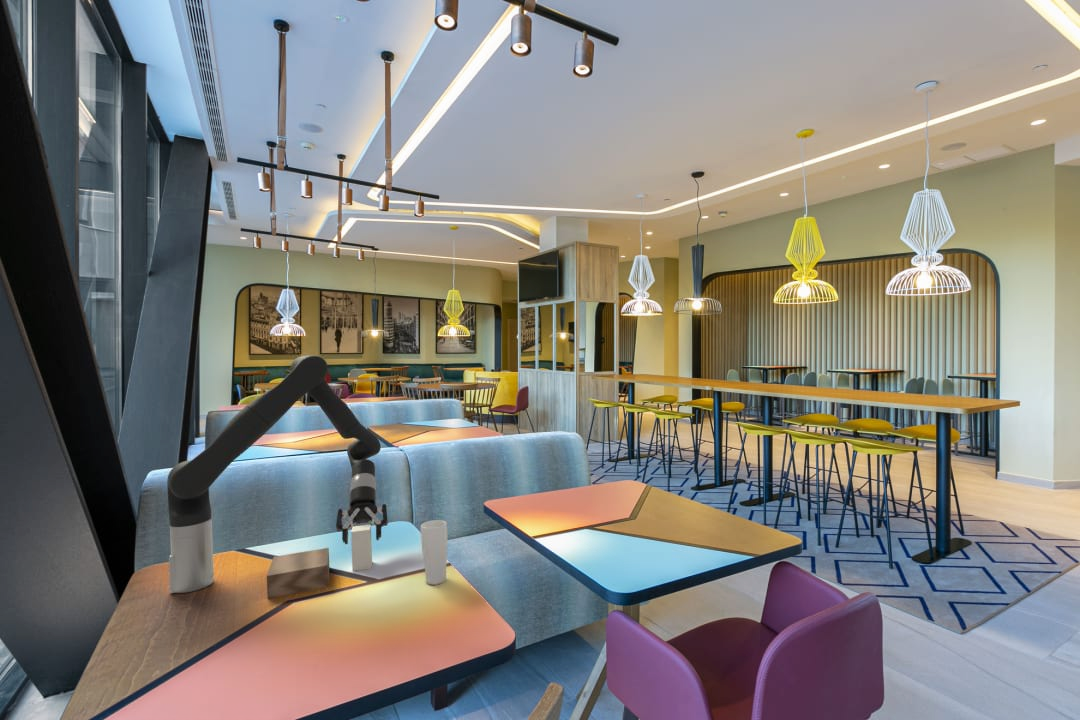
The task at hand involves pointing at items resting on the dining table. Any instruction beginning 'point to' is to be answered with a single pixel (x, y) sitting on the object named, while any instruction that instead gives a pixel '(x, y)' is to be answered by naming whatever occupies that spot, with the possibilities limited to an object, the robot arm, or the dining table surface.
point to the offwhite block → (361, 547)
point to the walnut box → (298, 572)
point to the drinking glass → (434, 550)
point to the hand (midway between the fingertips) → (362, 540)
